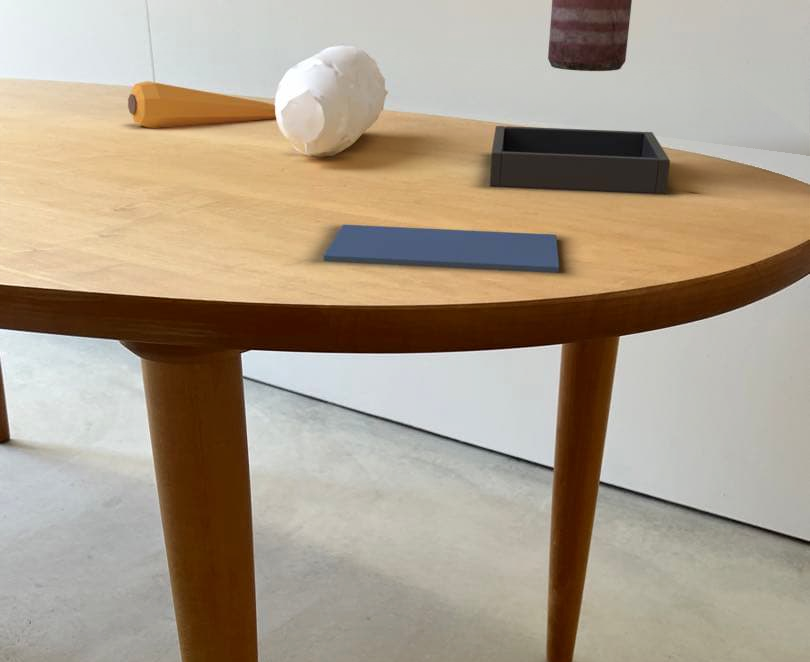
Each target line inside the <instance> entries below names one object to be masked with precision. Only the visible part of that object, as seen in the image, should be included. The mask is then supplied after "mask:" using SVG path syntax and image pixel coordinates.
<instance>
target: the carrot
mask: <svg viewBox="0 0 810 662" xmlns="http://www.w3.org/2000/svg"><path fill="white" fill-rule="evenodd" d="M130 92H131V93H130V94H129V96H128V98H127V108H128V111H129V114H130V115H131V116H132V119H133V122H134V124H136V125H139V126H142V127H145V128H149V129H158V128H172V127H185V126H198V125H211V124H223V123H234V122H236V123H237V122H247V121H249V122H250V121H259V120H272V119H273V120H274V119H276V115H275V104H274V103H268V102H265V101H261V100H260V101H259V100H253V99H248V98H243V97H238V96H232V95H226V94H221V93H215V92H211V91H204V90H198V89H195V88H194V89H193V88H188V87H182V86H177V85H171V84H166V83H161V82H155V81H150V80H147V81H143V82H137V83H134V84H133V87H132V90H131V91H130Z"/></svg>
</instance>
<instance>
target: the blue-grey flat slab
mask: <svg viewBox="0 0 810 662" xmlns="http://www.w3.org/2000/svg"><path fill="white" fill-rule="evenodd" d="M341 225H342V226H341V227H340V228H339V230H338V232H337V233H336V235H335V237H334V238H333V240H332V241H331V242H330V245H329V246H328V248H327V249H326V251H325V252H324V254H323V257H322V259H323V262H329V263H330V262H331V263H353V264H369V265H370V264H371V265H392V266H411V267H432V268H452V269H453V268H454V269H471V270H472V269H473V270H493V271H513V272H514V271H515V272H531V273H550V274H552V273H553V274H559V273H560V259H559V249H558V248H559V247H558V239H557V234H552V233H551V234H550V233H549V234H548V233H533V232H531V233H530V232H511V231H509V232H507V231H489V230H488V231H487V230H470V229H469V230H468V229H467V230H465V229H448V228H447V229H446V228H445V229H443V228H425V227H424V228H423V227H406V226H405V227H404V226H403V227H402V226H383V225H381V226H380V225H363V224H362V225H361V224H356V225H355V224H341Z"/></svg>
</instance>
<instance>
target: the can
mask: <svg viewBox="0 0 810 662" xmlns="http://www.w3.org/2000/svg"><path fill="white" fill-rule="evenodd" d="M632 2H633V0H551V12H550V13H551V14H550V24H549V39H548V40H549V41H548V51H547V59H548V62H549V64H550V66H551V67H552V68H554V69H559V70H566V71H579V72H612V71H619V70H621V69H622V67H623V66H624V64H625V62H626V59H627V50H628V40H629V30H630V20H631V13H632V11H631V10H632Z"/></svg>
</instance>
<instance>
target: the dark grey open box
mask: <svg viewBox="0 0 810 662" xmlns="http://www.w3.org/2000/svg"><path fill="white" fill-rule="evenodd" d="M491 148H492V149H491V154H490V155H491V157H490V173H489V188H508V189H530V190H553V191H555V190H556V191H575V192H577V191H578V192H600V193H621V194H622V193H623V194H644V195H645V194H646V195H665V196H666V193H667V186H668V179H669V172H670V164H671V160H670V158H669V157H668V154H667V153H666V152H665V150H664V148H663V147H662V146H661V144H660V142H659V140H658V139H657V138H656V135H655V134H654V132H652V131H635V130H610V129H609V130H608V129H607V130H606V129H584V128H583V129H582V128H580V129H579V128H557V127H536V126H534V127H533V126H509V125H506V126H504V125H496V126H495V129H494V136H493V141H492V147H491Z"/></svg>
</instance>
